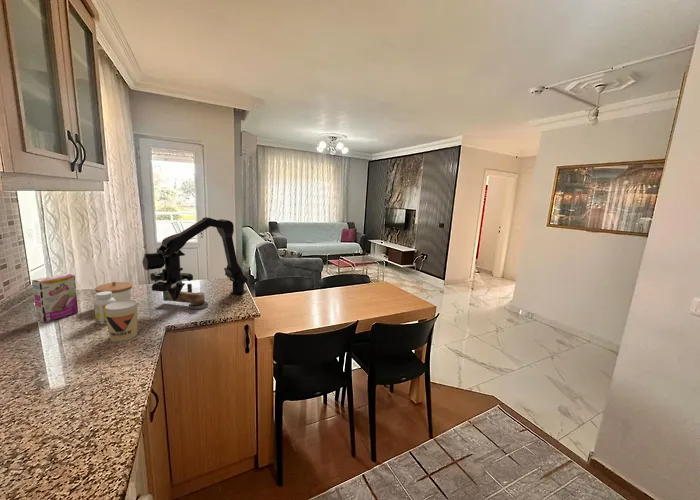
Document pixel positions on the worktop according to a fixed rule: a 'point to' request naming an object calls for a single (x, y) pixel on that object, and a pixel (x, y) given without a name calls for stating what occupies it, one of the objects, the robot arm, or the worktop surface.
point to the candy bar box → (55, 297)
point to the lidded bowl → (117, 290)
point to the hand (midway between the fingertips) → (174, 300)
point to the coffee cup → (121, 319)
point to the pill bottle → (102, 305)
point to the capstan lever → (186, 297)
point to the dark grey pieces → (194, 307)
